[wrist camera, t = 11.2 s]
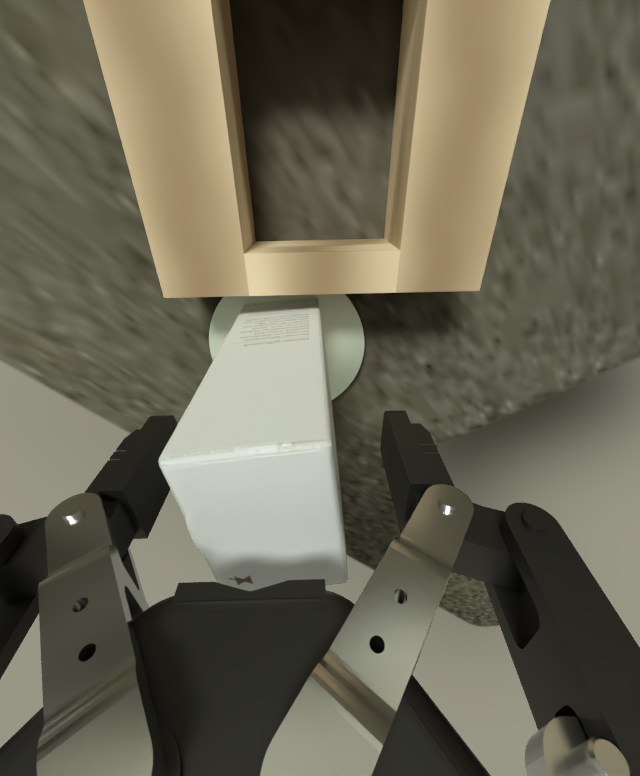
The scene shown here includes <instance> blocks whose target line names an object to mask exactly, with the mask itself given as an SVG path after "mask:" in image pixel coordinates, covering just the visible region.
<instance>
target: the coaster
mask: <svg viewBox="0 0 640 776" xmlns="http://www.w3.org/2000/svg"><path fill="white" fill-rule="evenodd" d="M311 297H316V298H318V299H319V303H320V312H321V321H322V328H323V336H324V344H325V351H326V358H327V366H328V375H329V383H330V392H331V400H333V399H334V398H336V397H337V396H338V395H340V394H341V393H342V392H343V391H344V390H345V389H346V388H347V387H348V386H349V385H350V384H351V382H352V381H353V380H354V378H355V376H356V375H357V373H358V371H359V368H360V366H361V363H362V359H363V355H364V348H365V346H364V332H363V327H362V324H361V321H360V318H359V315H358V313H357V311H356V309H355V307H354V305H353V304H352V302H351V300H350V299H349V298H348V296H347V295H346V294H316V295H271V296H227V297H223V298H222V299H221V301H220V302H219V304H218V305H217V307H216V309H215V312H214V314H213V317H212V320H211V323H210V330H209V345H210V352H211V355H212V359H213V361H214V359H215V357H216V355H217V353H218V352H219V350H220V348H221V346H222V344H223V342H224V340H225V339H226V337H227V335H228V333H229V332H230V330H231V328H232V326H233V324H234V322H235V321H236V319H237V317H238V315H239V313H240V311H241V310H242V308H243V306H244V305H247V304H256V303H266V302H276V301H287V300H296V299H304V298H311Z"/></svg>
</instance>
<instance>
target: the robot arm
mask: <svg viewBox="0 0 640 776" xmlns="http://www.w3.org/2000/svg"><path fill="white" fill-rule="evenodd" d="M176 427H177V422H176V419H175V418H174V416H172V415H170V416H151V417H149V419H148V420H147V421H146V423H145V424H144V426H143V427H142V428H141V430H135V431H134V432H133V433H131V434H130V435H129V436H127V437H126V438H125V439H124V440H123V441H122V443H121V444H120V445H119V447H118V448H117V450H116V452H114V454H113V455H112V456H111V457H110V461H108V462H107V463H106V464H105V466H104V467H103V468H102V470H101V471H100V472H99V474H98V475H97V476H96V478H95V479H94V480H93V482H92V483H91V485H90V486H89V487H88V489H87V490H86V491H85V493H82V494H78V495H75V496H72V497H70V498H68V499H66V500H65V501H63V502H61V503H60V504H59V505H57V506H56V507H55V508H54V509H53V510H52V511H51V512H50V513H49V515H48V516H47V517H44V518H40V519H37V520H33V521H29V522H25V523H22V524H17V523H16V522H15V521H14V520H13V518H12V517H11V516H9V515H4V514H0V679H1V677H2V675H3V674H4V672H5V670H6V668H7V666H8V665H9V663H10V662H11V660H12V658H13V656H14V655H15V653H16V651H17V650H18V648H19V646H20V644H21V643H22V641H23V639H24V638H25V636H26V634H27V632H28V631H29V629H30V627H31V626H32V624H33V622H34V620H35V619H36V617H37V615H38V614H39V621H40V644H41V666H42V690H43V707H42V709H40V710H39V712H37V713H36V714H35V715H34V716H33V717H32V718H31V719H30V720H29V721H28V722H27V723H26V724H25V725H24V726H23V727H22V728H21V729H20V730H19V731H18V732H17V733H16V734H15V735H13V736H12V737H11V738H10V739H9V740H8V741H7V742H6V743H5V744H4V745H3V746H2V747H1V748H0V776H490V774H489V773H488V772H487V770H486V769H485V768H484V766H483V765H482V764H481V763H480V761H479V760H478V759H477V757H476V756H475V755H474V754H473V752H472V751H471V750H470V748H469V747H468V746H467V745H466V743H465V742H464V741H463V740H462V738H461V737H460V736H459V734H458V733H457V732H456V731H455V729H454V728H453V727H452V725H451V724H450V723H449V721H448V720H447V719H446V717H445V716H444V715H443V714H442V712H441V711H440V710H439V708H438V707H437V706H436V705H435V703H434V702H433V701H432V700H431V698H430V697H429V696H428V694H427V693H426V692H425V691H424V689H423V688H422V687H421V685H420V684H419V683H418V681H417V680H416V679H415V678H414V676H413V675H412V674H413V671H414V669H415V666H416V663H417V661H418V658H419V656H420V653H421V650H422V648H423V645H424V642H425V640H426V637H427V635H428V632H429V629H430V627H431V624H432V621H433V619H434V616H435V614H436V611H437V609H438V606H439V603H440V601H441V598H442V596H443V593H444V590H445V588H446V585H447V583H448V580H449V577H450V575H451V572H455V573H458V574H461V575H465V576H468V577H471V578H475V579H478V580H481V581H484V583H485V586H486V589H487V592H488V594H489V597H490V600H491V603H492V605H493V608H494V611H495V613H496V616H497V619H498V622H499V624H500V627H501V630H502V632H503V635H504V638H505V641H506V643H507V646H508V649H509V652H510V654H511V657H512V660H513V662H514V665H515V668H516V671H517V673H518V676H519V679H520V681H521V684H522V687H523V690H524V692H525V695H526V698H527V700H528V703H529V706H530V709H531V711H532V714H533V717H534V720H535V722H536V725H537V728H538V730H539V731H538V732H537V733H535V734H534V735H533V736H532V737H531V738H530V739H529V741H528V743H527V745H526V750H525V766H526V771H527V776H640V647H639V646H638V644H637V643H636V641H635V640H634V638H633V637H632V635H631V634H630V632H629V631H628V629H627V628H626V626H625V624H624V623H623V621H622V620H621V618H620V617H619V615H618V614H617V612H616V611H615V609H614V607H613V606H612V604H611V603H610V601H609V600H608V598H607V597H606V595H605V594H604V592H603V591H602V589H601V588H600V586H599V584H598V583H597V581H596V580H595V578H594V577H593V575H592V574H591V572H590V571H589V569H588V567H587V566H586V564H585V563H584V561H583V560H582V558H581V557H580V555H579V554H578V552H577V551H576V549H575V547H574V546H573V544H572V543H571V541H570V540H569V538H568V537H567V535H566V534H565V532H564V531H563V529H562V528H561V526H560V525H559V523H558V522H557V521H556V519H555V518H554V517H552V516H551V515H550V514H549V513H548V512H546V511H545V510H543V509H541V508H539V507H537V506H535V505H532V504H527V503H514V504H512V505H510V506H509V507H508V508H507V509H506V511H505V512H503V511H499V510H495V509H491V508H487V507H483V506H480V505H477V504H475V503H472V502H471V500H470V498H469V497H468V496H467V495H466V494H465V493H463V491H461V490H460V489H458V488H456V487H454V485H453V482H452V480H451V478H450V476H449V474H448V472H447V469H446V467H445V465H444V463H443V461H442V459H441V457H440V454H438V450H437V448H436V446H435V445H434V441H433V439H432V437H431V435H430V433H429V432H428V431H427V430H426V429H425V428H424V427H423V426H422V425H421V424H411V423H410V421H409V418H408V416H407V413H406V411H385V413H384V418H383V427H382V436H381V455H382V460H383V464H384V468H385V472H386V476H387V480H388V484H389V488H390V492H391V496H392V500H393V504H394V508H395V512H396V516H397V520H398V524H399V528H400V532H401V533H402V534H401V535H400V537H399V538H397V537H396V538H394V539H393V541H392V542H391V544H390V545H389V547H388V549H387V550H386V552H385V554H384V556H383V557H382V559H381V561H380V563H379V564H378V566H377V568H376V569H375V571H374V573H373V575H372V576H371V578H370V580H369V581H368V583H367V585H366V587H365V588H364V590H363V592H362V594H361V595H360V597H359V599H358V600H357V602H356V604H355V605H354V604H353V603H352V602H351V601H349V600H348V599H346V598H344V597H342V596H340V595H338V594H336V593H333V592H330V591H326V590H325V579H308V580H288V581H284V582H281V583H277V584H274V585H271V586H267V587H264V588H261V589H257V590H254V591H246V590H243V589H239V588H235V587H231V586H228V585H224V584H220V583H216V582H194V583H179V584H178V586H177V590H176V592H175V595H174V596H172V597H169V598H167V599H165V600H162V601H160V602H158V603H156V604H155V605H153V606H151V607H150V608H149V606H148V604H147V602H146V599H145V596H144V593H143V590H142V587H141V583H140V580H139V577H138V573H137V570H136V567H135V563H134V560H133V557H132V553H131V551H130V549H129V546H130V544H131V542H132V540H133V539H141V538H148V535H149V533H150V531H151V529H152V527H153V525H154V523H155V520H156V518H157V516H158V514H159V512H160V510H161V507H162V505H163V503H164V501H165V499H166V497H167V495H168V493H169V491H170V487H169V485H168V483H167V481H166V479H165V476H164V474H163V472H162V470H161V468H160V466H159V462H158V460H159V457H160V456H161V454H162V452H163V450H164V448H165V446H166V444H167V443H168V441H169V439H170V438H171V436H172V434H173V432H174V431H175V429H176Z"/></svg>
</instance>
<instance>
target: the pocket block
mask: <svg viewBox="0 0 640 776" xmlns="http://www.w3.org/2000/svg"><path fill="white" fill-rule="evenodd" d="M83 2H84V5H85V9H86V13H87V16H88V20H89V24H90V27H91V31H92V35H93V38H94V42H95V46H96V49H97V53H98V57H99V60H100V64H101V68H102V71H103V75H104V79H105V82H106V86H107V90H108V93H109V97H110V101H111V104H112V108H113V112H114V116H115V119H116V123H117V127H118V130H119V134H120V138H121V141H122V145H123V149H124V152H125V156H126V160H127V163H128V167H129V171H130V174H131V178H132V182H133V185H134V189H135V193H136V196H137V200H138V204H139V207H140V211H141V215H142V218H143V222H144V226H145V229H146V233H147V237H148V240H149V244H150V248H151V251H152V255H153V259H154V263H155V266H156V270H157V274H158V277H159V281H160V285H161V288H162V292H163V296H164V298H182V297H227V296H271V295H316V294H360V293H404V292H449V291H479V290H480V286H481V282H482V278H483V274H484V270H485V266H486V262H487V258H488V253H489V249H490V245H491V241H492V237H493V233H494V229H495V225H496V221H497V217H498V213H499V208H500V204H501V200H502V196H503V192H504V188H505V184H506V180H507V176H508V172H509V167H510V163H511V159H512V155H513V151H514V147H515V143H516V139H517V135H518V131H519V127H520V122H521V118H522V114H523V110H524V106H525V102H526V98H527V94H528V90H529V86H530V82H531V77H532V73H533V69H534V65H535V61H536V57H537V53H538V49H539V45H540V41H541V37H542V32H543V28H544V24H545V20H546V16H547V12H548V8H549V4H550V0H404V3H403V15H402V27H401V39H400V51H399V64H398V76H397V88H396V100H395V112H394V124H393V137H392V149H391V161H390V173H389V185H388V197H387V209H386V222H385V234H384V239H348V240H298V241H256V238H255V229H254V220H253V211H252V202H251V193H250V184H249V175H248V166H247V157H246V148H245V139H244V129H243V120H242V111H241V102H240V93H239V84H238V75H237V66H236V57H235V48H234V39H233V30H232V21H231V12H230V3H229V0H83Z"/></svg>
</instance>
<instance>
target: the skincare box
mask: <svg viewBox="0 0 640 776" xmlns="http://www.w3.org/2000/svg"><path fill="white" fill-rule="evenodd" d="M158 462H159V466H160V468H161V470H162V472H163V474H164V476H165V479H166V481H167V483H168V485H169V487H170V489H171V491H172V493H173V495H174V497H175V499H176V501H177V503H178V505H179V507H180V508H181V510H182V512H183V515H184V518H185V521H186V524H187V528H188V531H189V533H190V535H191V537H192V540H193V542H194V544H195V546H196V547H197V548H198V550H199V551H200V552H201V553H202V554H203V555H204V557H205V559H206V561H207V563H208V565H209V567H210V568H211V570H212V573H213V575H214V577H215V578H216V580H217V582H218V583H220V584H224V585H228V586H231V587H235V588H239V589H243V590H246V591H254V590H257V589H261V588H264V587H267V586H271V585H274V584H277V583H281V582H284V581H288V580H308V579H325V585H331V584H340V583H344V582H346V581H347V579H348V578H347V557H346V542H345V531H344V521H343V510H342V500H341V489H340V478H339V468H338V459H337V449H336V440H335V430H334V420H333V411H332V401H331V392H330V383H329V375H328V366H327V358H326V351H325V344H324V336H323V328H322V321H321V312H320V303H319V299H318V298H316V297H311V298H304V299H296V300H287V301H276V302H266V303H256V304H247V305H244V306H243V308H242V310H241V311H240V313H239V315H238V317H237V319H236V321H235V322H234V324H233V326H232V328H231V330H230V332H229V333H228V335H227V337H226V339H225V340H224V342H223V344H222V346H221V348H220V350H219V352H218V353H217V355H216V357H215V359H214V361H213V362H212V364H211V366H210V368H209V370H208V371H207V373H206V375H205V377H204V379H203V380H202V382H201V384H200V386H199V388H198V389H197V391H196V393H195V395H194V397H193V399H192V400H191V402H190V404H189V406H188V407H187V409H186V411H185V412H184V414H183V416H182V418H181V420H180V422H179V423H178V425H177V427H176V429H175V431H174V432H173V434H172V436H171V438H170V439H169V441H168V443H167V444H166V446H165V448H164V450H163V452H162V454H161V456H160V457H159V460H158Z"/></svg>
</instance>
